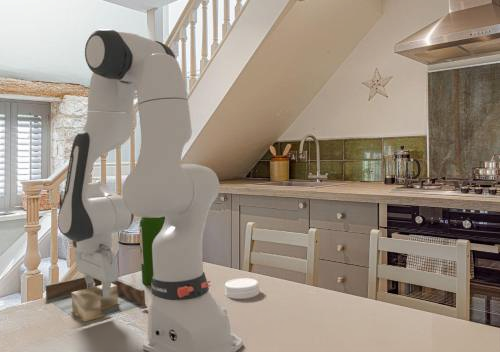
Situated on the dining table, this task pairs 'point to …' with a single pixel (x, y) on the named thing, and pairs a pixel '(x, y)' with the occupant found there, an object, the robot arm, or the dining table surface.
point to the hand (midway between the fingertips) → (98, 292)
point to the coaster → (242, 288)
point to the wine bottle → (148, 245)
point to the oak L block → (93, 301)
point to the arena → (126, 292)
